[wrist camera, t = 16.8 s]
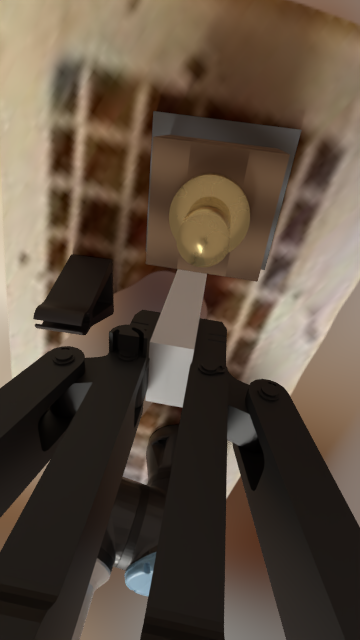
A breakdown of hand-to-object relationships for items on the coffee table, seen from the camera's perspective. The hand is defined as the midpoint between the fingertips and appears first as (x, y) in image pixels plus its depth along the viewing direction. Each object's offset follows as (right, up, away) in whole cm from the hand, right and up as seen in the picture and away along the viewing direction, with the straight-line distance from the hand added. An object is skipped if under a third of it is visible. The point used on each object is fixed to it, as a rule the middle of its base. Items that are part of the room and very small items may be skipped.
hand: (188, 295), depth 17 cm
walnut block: (+4, +14, +23) cm, 28 cm away
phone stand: (-13, +4, +32) cm, 35 cm away
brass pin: (+4, +13, +21) cm, 25 cm away
